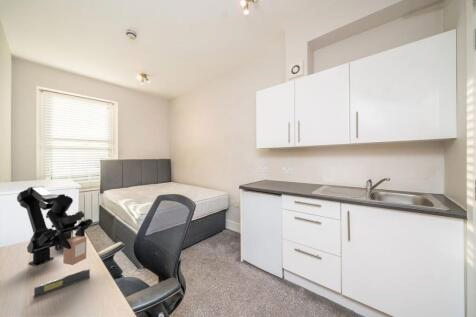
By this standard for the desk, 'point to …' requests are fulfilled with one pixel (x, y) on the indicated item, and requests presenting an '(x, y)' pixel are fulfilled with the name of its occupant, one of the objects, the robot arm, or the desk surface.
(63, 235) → the robot arm
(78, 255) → the carton
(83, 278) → the rail
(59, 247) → the battery charger
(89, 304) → the desk surface
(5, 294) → the desk surface
